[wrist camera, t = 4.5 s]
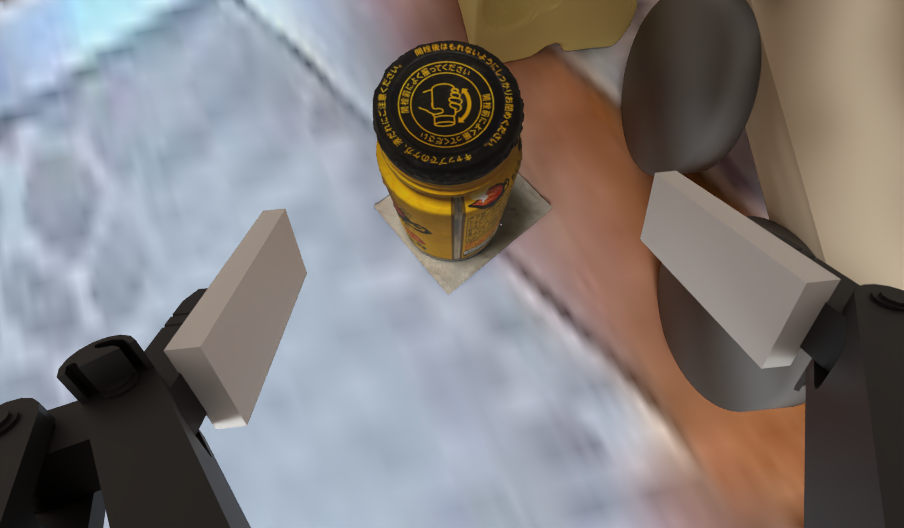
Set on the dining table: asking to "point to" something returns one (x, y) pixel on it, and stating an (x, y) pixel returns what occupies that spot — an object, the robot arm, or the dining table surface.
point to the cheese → (544, 24)
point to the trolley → (775, 149)
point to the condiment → (452, 158)
